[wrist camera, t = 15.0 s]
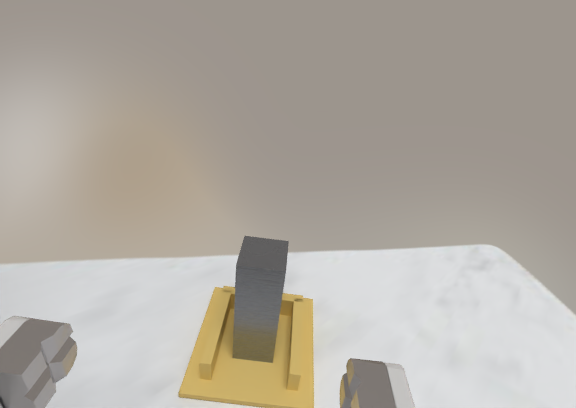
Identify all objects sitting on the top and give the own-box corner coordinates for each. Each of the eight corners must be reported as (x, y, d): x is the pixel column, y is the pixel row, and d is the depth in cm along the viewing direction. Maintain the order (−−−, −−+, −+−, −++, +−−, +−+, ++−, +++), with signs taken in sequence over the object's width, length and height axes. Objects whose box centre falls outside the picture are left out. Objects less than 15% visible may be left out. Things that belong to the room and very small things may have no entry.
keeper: (178, 397, 29) (172, 330, 25) (215, 290, 41) (214, 230, 36) (312, 413, 30) (330, 349, 25) (312, 302, 41) (324, 244, 36)
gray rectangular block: (232, 358, 33) (236, 265, 26) (239, 324, 36) (244, 235, 30) (272, 363, 33) (285, 271, 26) (276, 329, 36) (288, 241, 30)
